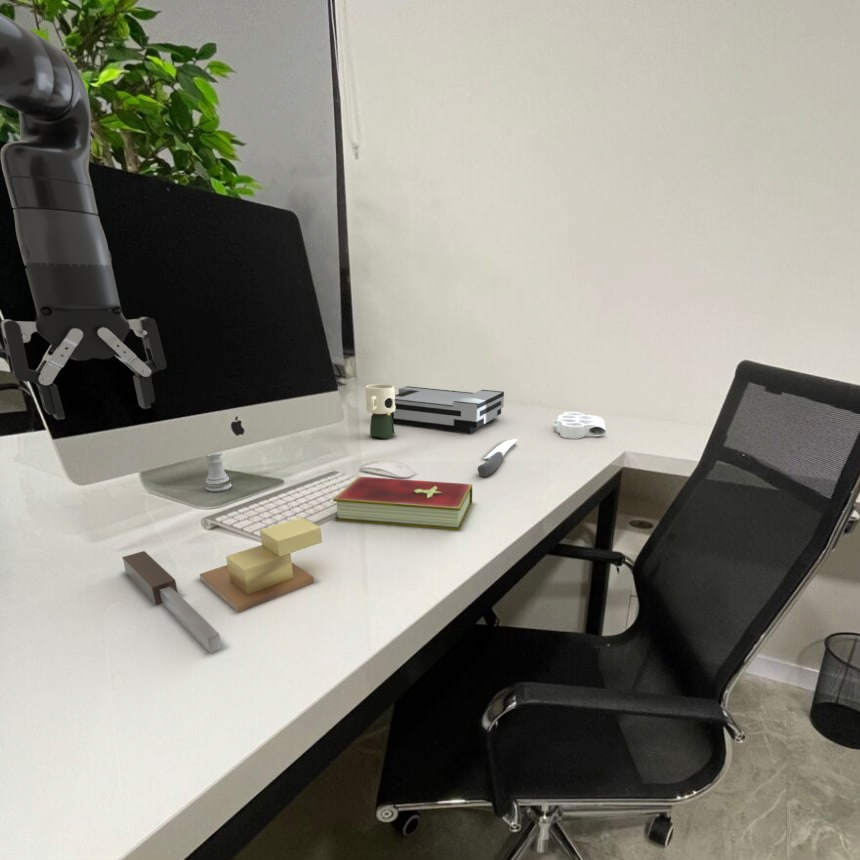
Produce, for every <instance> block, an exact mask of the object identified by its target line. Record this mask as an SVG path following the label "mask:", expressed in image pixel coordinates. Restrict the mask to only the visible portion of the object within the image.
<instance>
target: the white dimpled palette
mask: <svg viewBox="0 0 860 860" xmlns="http://www.w3.org/2000/svg"><path fill="white" fill-rule="evenodd" d="M552 422H553V423H554V424H552V425H551V427H552V428H554V429H555V432H556V433H558V434H560V437H561V438H564V439H569V440H571V439H572V440H577V439H582V438H585V437H586V438H587V437H590V438H591V437H592V438H595V437H602V436H604V435H605V434H606V432H607V429H606V424H605V419H603V418H602V417H600V416H597V415H591V414H590V415H588V414H584V413H583V412H577V411H565V412H563V413H562V414H559V415H557V416H556V419H554V420H552Z"/></svg>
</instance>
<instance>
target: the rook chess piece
mask: <svg viewBox="0 0 860 860" xmlns="http://www.w3.org/2000/svg"><path fill="white" fill-rule="evenodd" d="M223 454H224V451H223V452H220V453H214V454H211V455H209V456H205V457H206V462H205V463H207V470H208V471H207V476H206V479H205V482H206V483H208V484H220V483H223V482H226V481H228V480H229V478H230V477H229V476H228V474H227V473H226V471H225V468H224V465H223V461H224V459H223V458H222V455H223ZM232 486H233V484H232V483H231V482H230V483H229V484H227V485H224V486H219V487H210V486H207V485H206V486H205V490H206V491H207V492H210V493H222V492H226V491H228V490H230V489H231V488H232Z"/></svg>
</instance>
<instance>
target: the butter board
mask: <svg viewBox="0 0 860 860" xmlns="http://www.w3.org/2000/svg"><path fill="white" fill-rule="evenodd" d="M291 554H292V553H290V554H287V555H284V556H281V557H279V556H278V555H276V554H275V553H273V552H272V551H270V550H269V549H267V548H266V547H264V546H263V545H262V544H260V545H258V546H254V547H251V548H248V549H245V550H241V551H239V552H236V553H232V554H229V555H226V556H225V557H226V565H223V566H220V567H217V568H214V569H210V570H208V571H207V570H206V571H204V572H201V573H199V579H200V581H201V582H202V583H203V584H204V585H206V586H207V588H209V589H210V590H211V591H212V592H213V593H215V594H216V595H217V596H218V597H219V598H220V599H221V600H222V601H224V602H225V603H226V604H227V605H228V606H229V607H231V608H232V609H233V610H234V611H236V613H242V612H244V611H247V610H249V609H252V608H254V607H257V606H260V605H262V604H264V603H267V602H269V601H272V600H274V599H277V598H279V597H282V596H284V595H287V594H289V593H292V592H296V591H298V590H300V589H302V588H304V587H307V586H310V585H313V584H315V580H314V579H315V578H314V576H313V575H311V574H310V573H308V571H307V572H306V571H305V570H304V569H303V568H301V567H299V566H297V565H296V564H295V563H293V562H292V557H291V556H292V555H291Z"/></svg>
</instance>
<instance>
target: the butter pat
mask: <svg viewBox="0 0 860 860" xmlns="http://www.w3.org/2000/svg"><path fill="white" fill-rule="evenodd" d="M259 534H260V539H261V540H260V542H261V545H263V546H264V547H266V548H267V549H269V550H270V551H272V552H273V553H275V554H276V555H278V556H279V557H281V556H284V555H287V554H293V553H296V552H299V551H300V550H304V549H307V548H310V547H313V546H316V545H318V544H321V543H323V539H322V537H323V536H322V528H321V526H319V525H317V524H316V523H313V522H311V521H309V520H307V519H306V518H305V517H298V518H295V519H291V520H289V521H285V522H282V523H279V524H275V525H272V526H269V527H268V526H267V527H265V528H262V529H260V530H259Z"/></svg>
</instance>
